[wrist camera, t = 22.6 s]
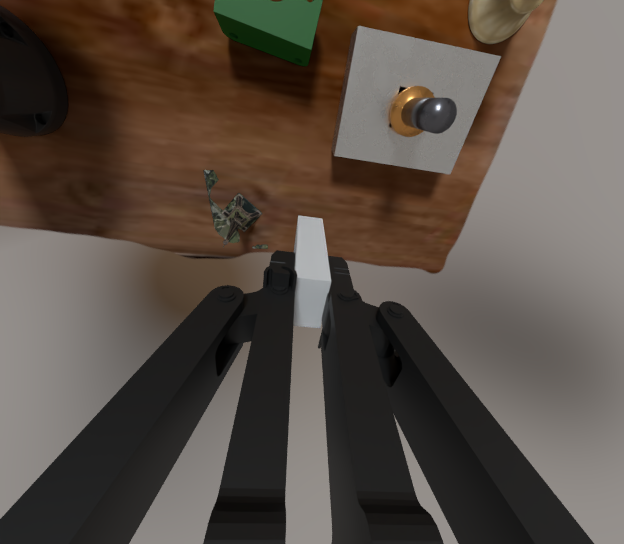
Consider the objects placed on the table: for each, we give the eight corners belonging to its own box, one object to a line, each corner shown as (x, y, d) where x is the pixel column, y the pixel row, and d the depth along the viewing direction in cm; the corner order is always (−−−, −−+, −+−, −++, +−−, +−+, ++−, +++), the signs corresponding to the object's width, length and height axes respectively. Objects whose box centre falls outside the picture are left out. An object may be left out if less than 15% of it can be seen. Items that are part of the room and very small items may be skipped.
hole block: (331, 150, 41) (334, 155, 37) (351, 34, 34) (358, 25, 30) (436, 167, 43) (450, 174, 39) (478, 61, 36) (501, 56, 31)
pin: (375, 128, 40) (405, 141, 28) (386, 84, 37) (425, 77, 25) (410, 134, 40) (453, 150, 28) (423, 91, 37) (479, 88, 25)
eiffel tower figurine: (203, 167, 43) (167, 192, 32) (263, 169, 43) (249, 193, 32) (219, 246, 52) (195, 287, 40) (269, 247, 52) (260, 287, 41)
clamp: (303, 23, 36) (338, -5, 29) (293, 72, 38) (323, 57, 31) (214, -37, 30) (231, -91, 23) (207, 25, 32) (221, -7, 25)
